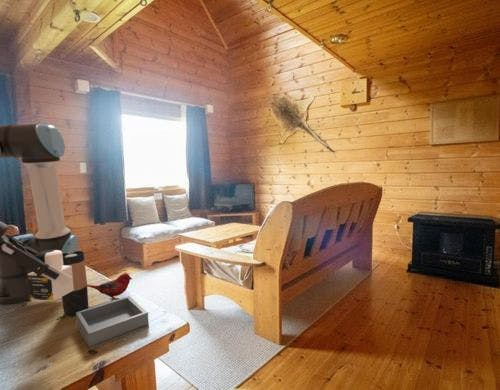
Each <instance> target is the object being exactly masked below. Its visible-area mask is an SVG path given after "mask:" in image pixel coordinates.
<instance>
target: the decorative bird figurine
mask: <svg viewBox="0 0 500 390" xmlns="http://www.w3.org/2000/svg"><path fill="white" fill-rule="evenodd" d="M131 280H133V278H132V277H131V276H130V274H129V273H127V272H126V273H122V274H120V275H119V276H118V277H117V278H115V279H113V280H109V281H106V282H103V283H101V284H99V285H94V284H87V288H92V289H95V290H97V291H98V292H99V293H101V294H102V295H105V296H108V297H109V300H111V301H115V300H118V299H120V298H119V297H118V296H120V295H122V294H124V293H125V291H127V289H128V288H129V287H128V286H129V284H130V282H131ZM109 300H108V301H109Z"/></svg>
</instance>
